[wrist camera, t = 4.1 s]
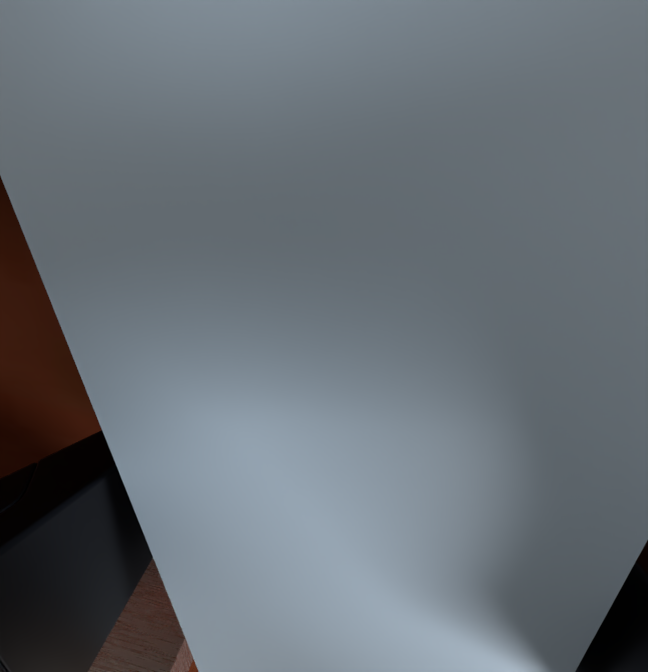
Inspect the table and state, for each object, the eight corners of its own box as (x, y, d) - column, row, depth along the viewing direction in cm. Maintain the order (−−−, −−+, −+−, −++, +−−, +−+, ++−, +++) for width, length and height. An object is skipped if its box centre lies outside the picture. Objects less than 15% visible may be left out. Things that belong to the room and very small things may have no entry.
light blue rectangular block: (474, 584, 12) (503, 800, 8) (275, 550, 13) (219, 724, 9) (612, 16, 6) (1078, -240, 2) (197, 54, 7) (-88, -44, 3)
